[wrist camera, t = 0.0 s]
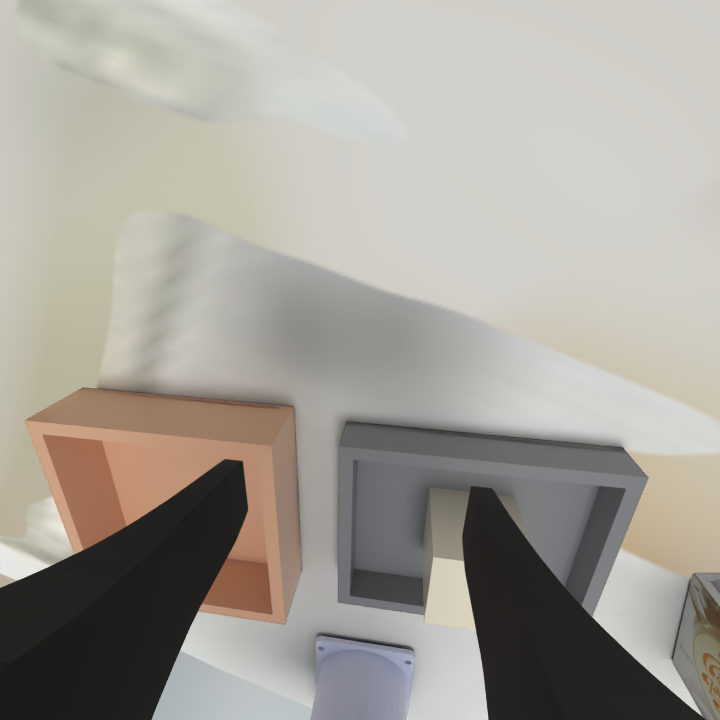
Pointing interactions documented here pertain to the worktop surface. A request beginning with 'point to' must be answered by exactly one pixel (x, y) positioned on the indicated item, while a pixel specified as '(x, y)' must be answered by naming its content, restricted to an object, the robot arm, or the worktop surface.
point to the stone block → (450, 557)
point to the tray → (459, 472)
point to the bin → (179, 480)
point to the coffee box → (701, 644)
